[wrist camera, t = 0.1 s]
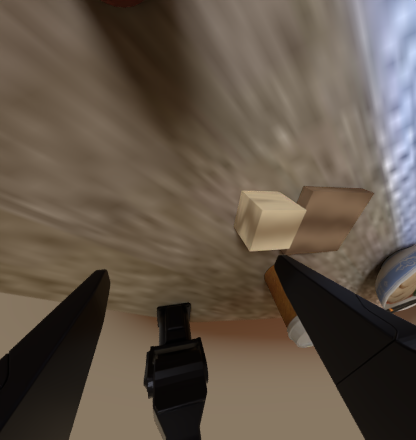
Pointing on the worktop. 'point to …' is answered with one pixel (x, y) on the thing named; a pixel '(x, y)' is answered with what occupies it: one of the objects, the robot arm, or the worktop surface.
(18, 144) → the worktop surface
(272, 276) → the disposable coffee cup
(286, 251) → the walnut board
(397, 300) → the ramen bowl
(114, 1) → the soda can
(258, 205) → the maple cube
